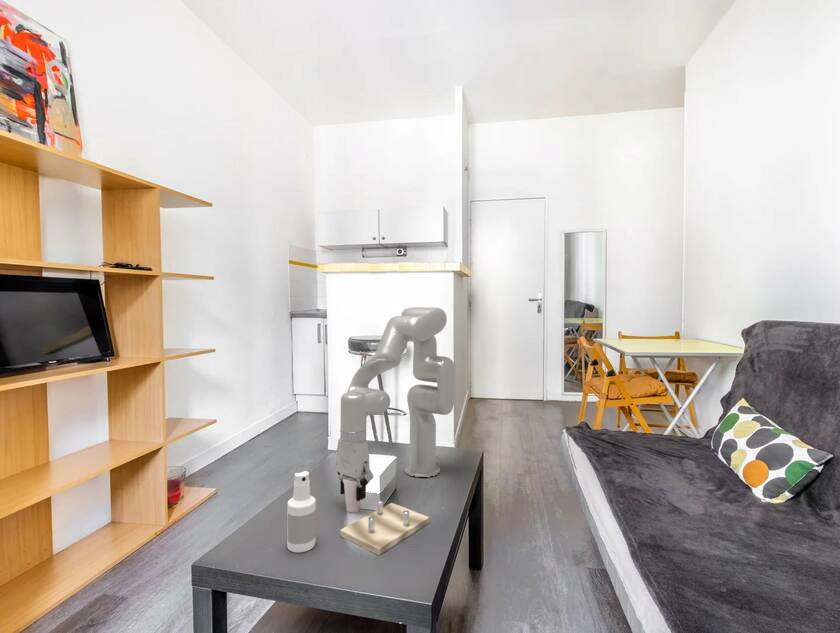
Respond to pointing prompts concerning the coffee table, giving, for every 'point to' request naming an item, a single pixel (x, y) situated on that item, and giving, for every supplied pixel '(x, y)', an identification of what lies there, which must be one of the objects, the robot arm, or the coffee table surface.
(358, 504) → the smoothie
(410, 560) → the coffee table surface
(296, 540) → the spray bottle
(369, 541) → the pin board
